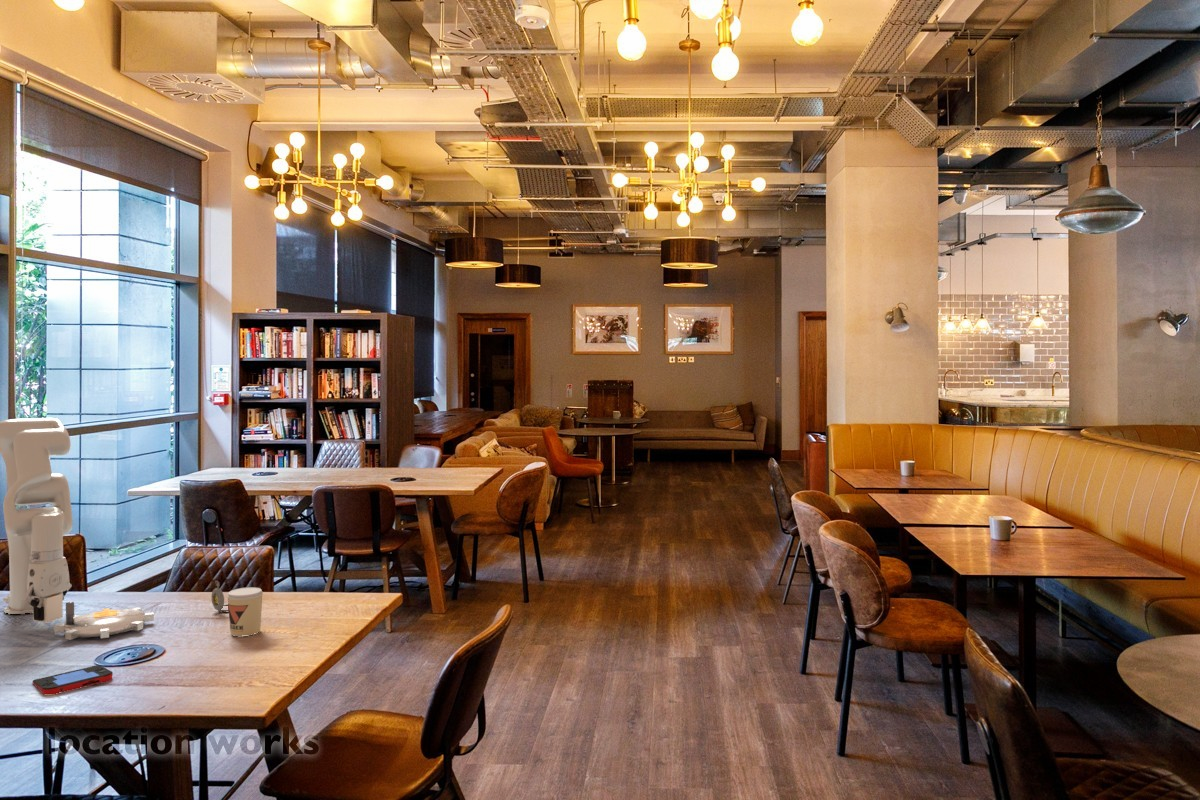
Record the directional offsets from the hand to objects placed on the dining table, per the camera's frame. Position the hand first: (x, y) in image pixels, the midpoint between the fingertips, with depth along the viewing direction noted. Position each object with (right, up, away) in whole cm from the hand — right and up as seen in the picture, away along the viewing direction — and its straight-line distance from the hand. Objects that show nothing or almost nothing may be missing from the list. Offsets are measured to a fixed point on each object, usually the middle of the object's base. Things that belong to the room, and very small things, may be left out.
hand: (48, 616), depth 236 cm
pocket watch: (+43, -3, +18) cm, 47 cm away
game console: (+34, -6, -40) cm, 53 cm away
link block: (0, -1, 0) cm, 1 cm away
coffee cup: (+59, -4, -4) cm, 59 cm away
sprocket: (+17, -4, -1) cm, 18 cm away
